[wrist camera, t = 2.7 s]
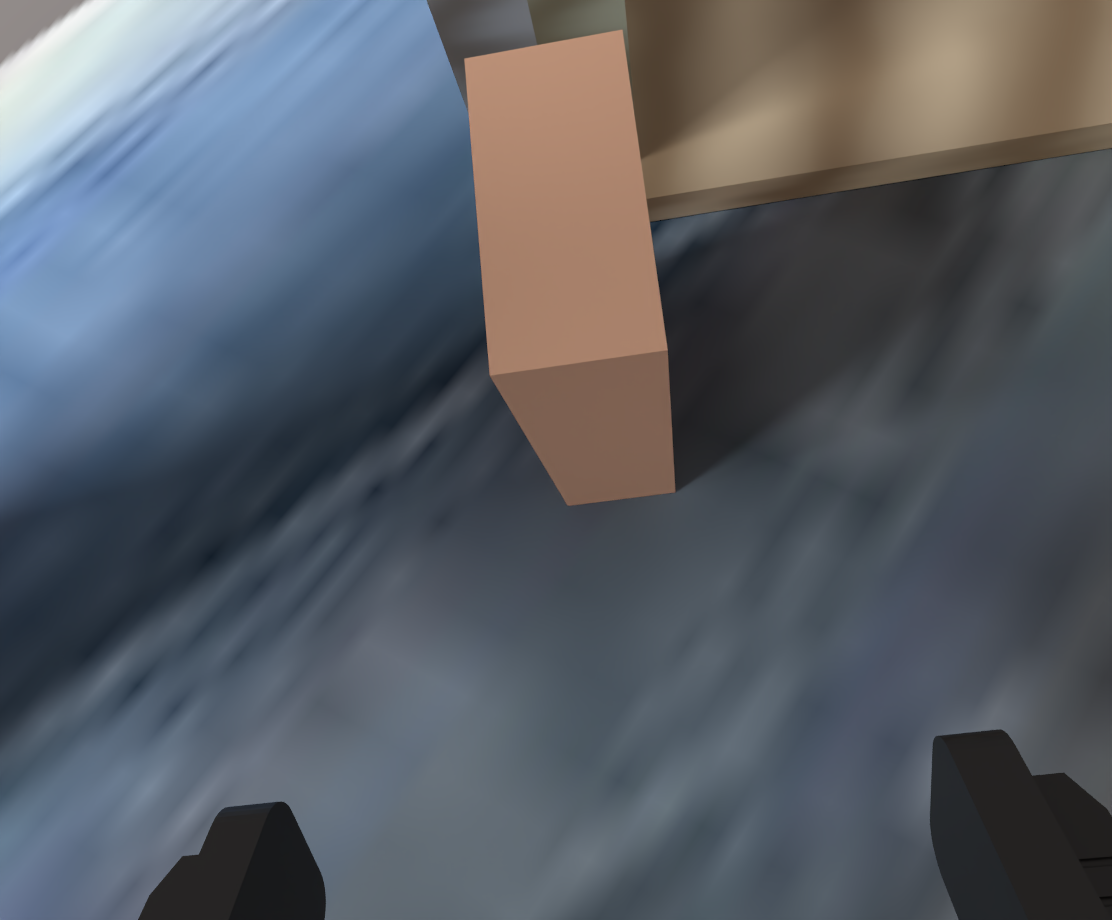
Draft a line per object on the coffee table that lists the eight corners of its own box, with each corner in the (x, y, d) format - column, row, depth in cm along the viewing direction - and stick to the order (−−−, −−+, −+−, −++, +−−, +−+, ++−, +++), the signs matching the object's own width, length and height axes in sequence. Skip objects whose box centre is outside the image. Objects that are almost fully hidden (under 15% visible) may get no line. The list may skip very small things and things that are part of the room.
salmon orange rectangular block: (567, 506, 29) (489, 375, 17) (546, 297, 31) (464, 59, 20) (675, 492, 29) (667, 349, 17) (646, 282, 31) (622, 29, 19)
